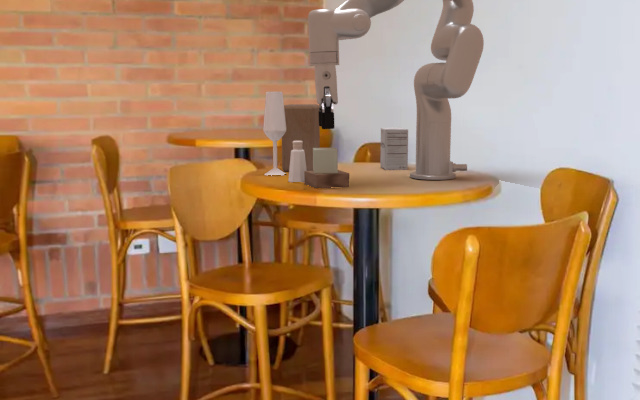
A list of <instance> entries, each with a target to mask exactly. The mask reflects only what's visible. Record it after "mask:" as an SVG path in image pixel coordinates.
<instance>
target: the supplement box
mask: <svg viewBox="0 0 640 400" xmlns="http://www.w3.org/2000/svg"><path fill="white" fill-rule="evenodd" d="M408 152H409V129H408V128H405V127H400V126H399V127H380V164H379V165H380V168H382V169H384V170H385V171H395V170H396V171H405V170H408V168H409V165H408V164H409V163H408V162H409V159H408V156H409V153H408Z"/></svg>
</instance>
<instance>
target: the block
mask: <svg viewBox="0 0 640 400" xmlns="http://www.w3.org/2000/svg"><path fill="white" fill-rule="evenodd" d="M284 111H285V121H286V132H285V134H284V135H283V136H282V137H281V168H282V169H281V170H282V171H283V170H284V171H283V172H289V168H290V156H291V151H292V150H293V143H292V142H293V141H303V144H302V146H303V147H302V148H303V149H302V150H304V152H305V161H306V170H307V171H313V148H321V146H320V143H321V142H320V132H321V131H320V128H321V127H320V126H319V112H318V111H319V104H318V103H317V104H315V103H313V104H312V103H299V104H298V103H296V104H295V103H290V104H284Z"/></svg>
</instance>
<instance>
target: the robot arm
mask: <svg viewBox="0 0 640 400" xmlns="http://www.w3.org/2000/svg"><path fill="white" fill-rule="evenodd" d="M403 2H405V0H346V1H344V2H343V3H341V4H340V5H339V6H338V7H337V8H335V9H332V8H318V9H313V10H312V9H311V11H309V12H308V15H307V20H308V23H307V24H308V25H307V26H308V46H309V47H308V51H309V53H308V54H309V56H308V57H309V66H310V67H314V85H315V87H314V88H315V96H316V103H317V105H319V111H318V112H319V127H321V130H333V129H335V113H334V105H337V104H338V103H339V99H338V98H339V97H338V81H337V80H338V79H337V68H336V66H340V43H339V42H340V41H343V40H346V41H347V40H353V39H355V40H356V39H359V38H362V37H364V36H365V35H366V34H367V33H368V32H369V31H370V29H371V25H372V21H371V18H373V17H375V16H377V15H380V14H382V13H386V12H387V11H390V10H392V9H394V8H396V7H398V6H399V5H401V4H402V3H403ZM474 7H475V6H474V1H473V0H442V10H441V14H440V17H439V20H438V23H437V24H436V28H435V30H434V34H433V37H432V40H431V43H430V44H431V45H430V51H431V54H432V56H433V57H434V58H435V59H437V60H439V61H443V62H431V63H427V64H424V65H422V66H421V67H420V68H418V69H417V71H416V72H415V74H414V78H413V91H414V95H415V101H416V102H415V103H416V126H415V127H416V130H415V131H416V132H415V134H416V135H415V136H416V137H415V171H411V172H410V173H409V177H410V178H412V179H415V180H429V181H439V180H440V181H443V180H452V179H455V178H456V172H458V171H460V172H467V171H468V164H466V163H456V162H455V163H454V162H453V161H451V144H452V143H451V140H452V139H451V137H452V135H451V133H452V109H451V108H452V107H451V105H450V101H449V99H459V98H461V97H463V96H464V95H466V94H467V92H468V91H469V90H470V88H471V85H472V83H473V81H474V77H475V75H476V71H477V68H478V65H479V63H480V60H481V58H482V55H483V51H484V43H485V42H484V36H483V33H482V31H481V29H480V28H479V27H478V26H477V25H475V24H472V19H473V16H474V10H475V9H474ZM444 61H445V62H444Z"/></svg>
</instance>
